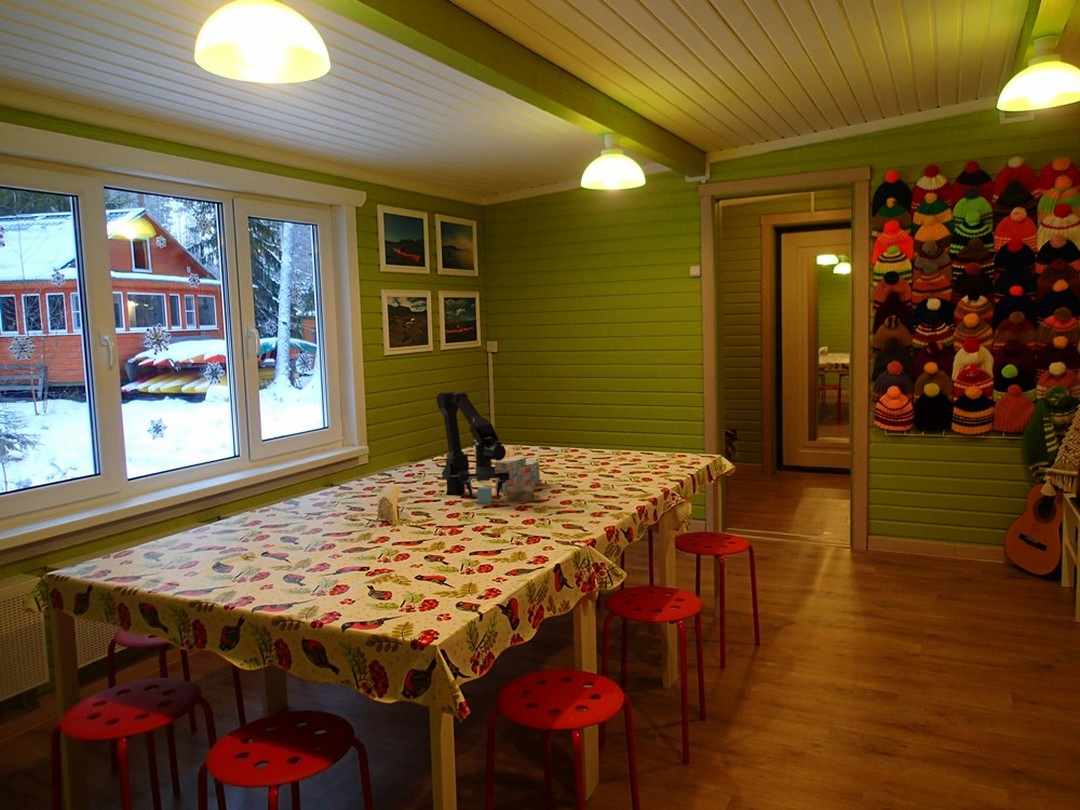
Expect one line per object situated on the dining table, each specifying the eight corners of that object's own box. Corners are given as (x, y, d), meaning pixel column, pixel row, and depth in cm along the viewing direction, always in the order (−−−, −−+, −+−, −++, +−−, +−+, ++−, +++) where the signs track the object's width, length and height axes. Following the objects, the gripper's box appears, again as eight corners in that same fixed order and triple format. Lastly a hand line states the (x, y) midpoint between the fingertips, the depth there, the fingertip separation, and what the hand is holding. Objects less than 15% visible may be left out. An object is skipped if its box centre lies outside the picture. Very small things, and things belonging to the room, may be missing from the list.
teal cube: (477, 503, 297) (477, 490, 296) (478, 500, 302) (478, 487, 301) (491, 503, 297) (491, 489, 296) (491, 500, 302) (491, 487, 301)
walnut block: (507, 502, 298) (506, 492, 298) (506, 496, 308) (506, 486, 308) (534, 501, 299) (533, 491, 298) (532, 495, 309) (532, 485, 308)
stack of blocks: (527, 482, 333) (526, 452, 332) (540, 483, 329) (539, 454, 328) (495, 492, 316) (494, 461, 314) (508, 494, 312) (507, 462, 311)
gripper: (456, 461, 289) (457, 504, 291) (508, 460, 290) (509, 503, 291) (458, 456, 300) (460, 497, 302) (509, 455, 301) (510, 496, 302)
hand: (484, 498), depth 299 cm, fingers open, 9 cm apart
